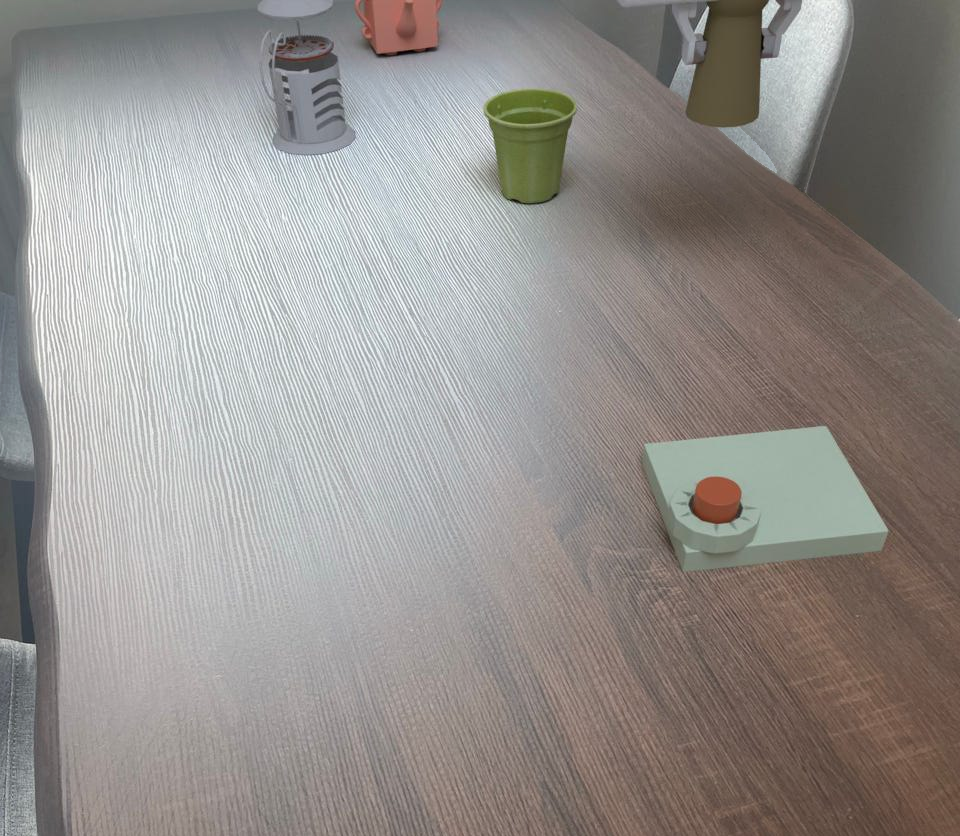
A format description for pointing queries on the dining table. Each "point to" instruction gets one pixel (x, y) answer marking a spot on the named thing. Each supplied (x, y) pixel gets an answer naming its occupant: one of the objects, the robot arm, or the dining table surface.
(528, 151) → the plant pot
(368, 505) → the dining table surface
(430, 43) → the teapot
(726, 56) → the cork
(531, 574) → the dining table surface
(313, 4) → the french press
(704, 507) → the red push button
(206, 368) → the dining table surface
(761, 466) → the red button base
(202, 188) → the dining table surface
